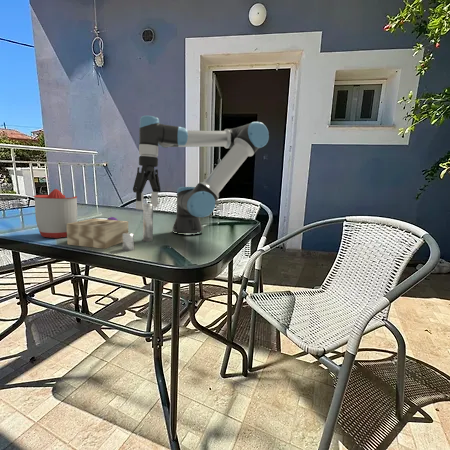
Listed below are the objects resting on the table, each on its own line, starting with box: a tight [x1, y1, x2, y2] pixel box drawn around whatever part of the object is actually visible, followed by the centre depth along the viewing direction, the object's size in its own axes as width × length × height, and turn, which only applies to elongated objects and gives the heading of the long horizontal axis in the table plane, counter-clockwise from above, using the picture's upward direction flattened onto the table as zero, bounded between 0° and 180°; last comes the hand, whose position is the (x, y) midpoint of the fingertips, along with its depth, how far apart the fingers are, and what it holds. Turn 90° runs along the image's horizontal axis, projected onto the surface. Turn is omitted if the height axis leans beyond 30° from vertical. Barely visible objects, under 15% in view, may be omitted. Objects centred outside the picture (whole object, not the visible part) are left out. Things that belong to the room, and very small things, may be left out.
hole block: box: [66, 218, 129, 250], centre depth 108 cm, size 16×16×8 cm
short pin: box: [121, 232, 135, 252], centre depth 99 cm, size 4×4×6 cm
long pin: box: [142, 202, 154, 243], centre depth 114 cm, size 4×4×16 cm
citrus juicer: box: [33, 188, 78, 239], centre depth 114 cm, size 16×17×20 cm
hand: (147, 208), depth 113 cm, fingers open, 13 cm apart
